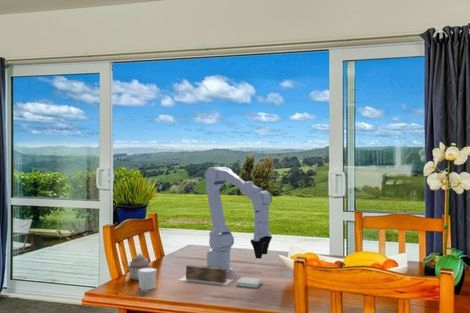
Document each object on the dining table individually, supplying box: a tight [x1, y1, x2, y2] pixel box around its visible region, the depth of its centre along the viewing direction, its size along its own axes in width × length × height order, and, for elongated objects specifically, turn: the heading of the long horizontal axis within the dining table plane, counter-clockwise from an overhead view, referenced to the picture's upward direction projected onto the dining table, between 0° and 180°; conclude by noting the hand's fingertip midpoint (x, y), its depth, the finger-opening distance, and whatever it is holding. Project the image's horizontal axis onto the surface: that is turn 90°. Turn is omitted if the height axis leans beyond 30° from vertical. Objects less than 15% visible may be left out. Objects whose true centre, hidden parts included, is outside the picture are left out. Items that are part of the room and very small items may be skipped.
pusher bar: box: [185, 264, 227, 283], centre depth 184 cm, size 16×2×5 cm, turn 70°
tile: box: [235, 276, 263, 289], centre depth 178 cm, size 2×7×8 cm
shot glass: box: [138, 267, 158, 292], centre depth 173 cm, size 7×7×7 cm
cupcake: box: [127, 253, 152, 281], centre depth 187 cm, size 9×9×10 cm
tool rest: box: [178, 275, 233, 286], centre depth 184 cm, size 20×8×1 cm, turn 70°
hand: (261, 256), depth 185 cm, fingers open, 7 cm apart
